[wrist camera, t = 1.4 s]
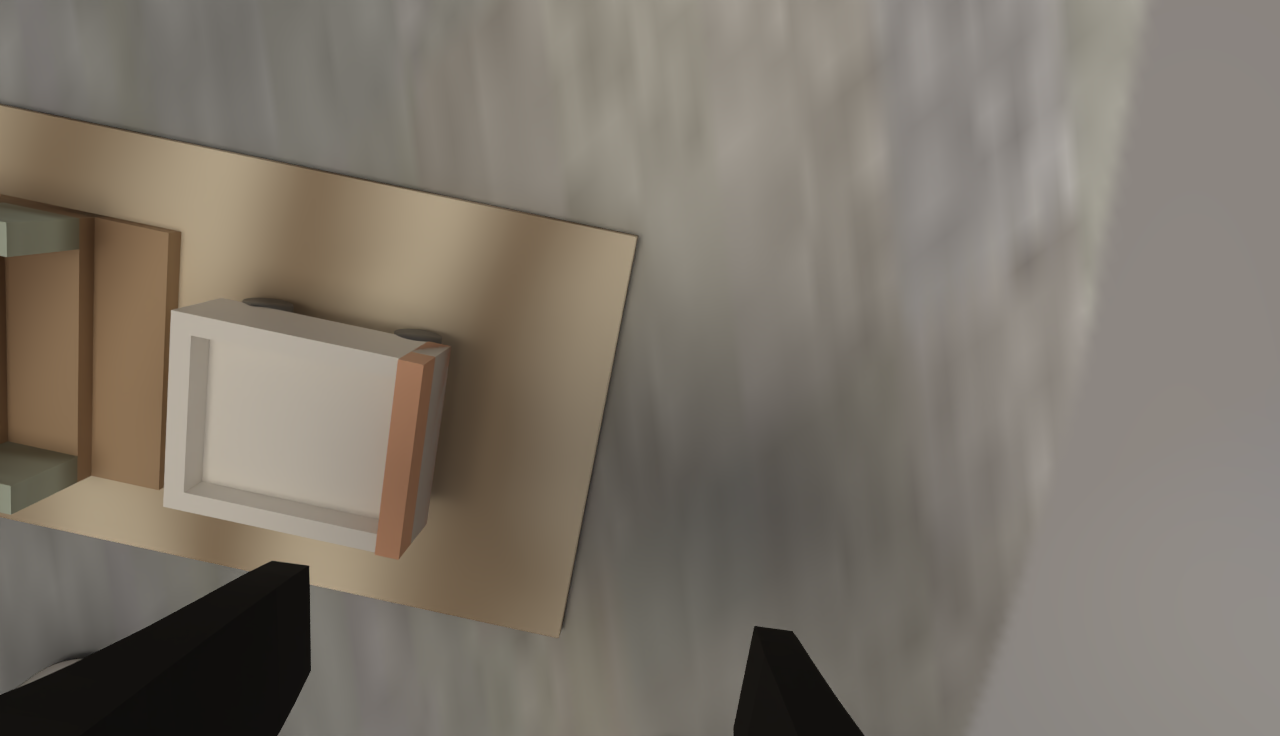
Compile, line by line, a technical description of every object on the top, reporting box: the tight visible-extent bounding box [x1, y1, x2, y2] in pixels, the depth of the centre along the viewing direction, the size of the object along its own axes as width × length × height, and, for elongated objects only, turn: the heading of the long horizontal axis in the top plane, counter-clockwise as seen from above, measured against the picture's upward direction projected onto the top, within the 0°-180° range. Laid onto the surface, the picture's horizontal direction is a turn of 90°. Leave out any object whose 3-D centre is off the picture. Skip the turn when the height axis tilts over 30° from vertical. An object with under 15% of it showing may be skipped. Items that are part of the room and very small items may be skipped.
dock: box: [0, 104, 638, 638], centre depth 20 cm, size 19×12×4 cm, turn 79°
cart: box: [163, 298, 451, 560], centre depth 19 cm, size 6×5×3 cm
